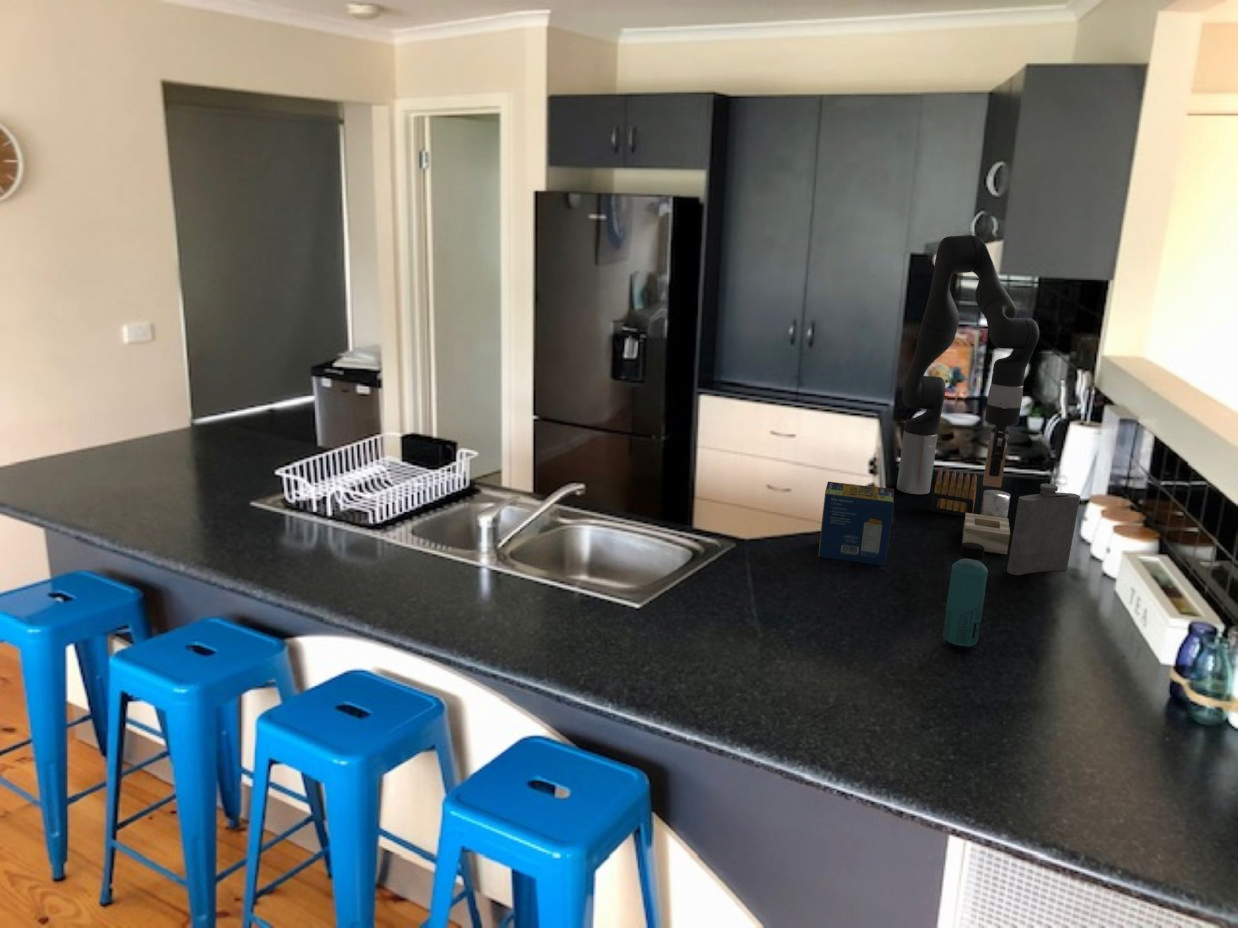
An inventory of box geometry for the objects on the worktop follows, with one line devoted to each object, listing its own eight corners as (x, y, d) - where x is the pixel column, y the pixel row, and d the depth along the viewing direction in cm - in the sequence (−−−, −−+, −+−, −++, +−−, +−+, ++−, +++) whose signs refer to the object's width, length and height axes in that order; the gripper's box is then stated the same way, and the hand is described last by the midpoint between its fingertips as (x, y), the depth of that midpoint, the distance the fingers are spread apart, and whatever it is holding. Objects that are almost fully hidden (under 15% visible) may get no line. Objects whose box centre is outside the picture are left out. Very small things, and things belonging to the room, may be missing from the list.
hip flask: (1013, 575, 213) (1027, 490, 207) (1001, 569, 216) (1014, 484, 211) (1070, 569, 218) (1085, 486, 213) (1057, 563, 222) (1071, 481, 216)
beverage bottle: (973, 657, 172) (989, 553, 167) (935, 647, 176) (950, 545, 170) (981, 644, 178) (996, 543, 172) (944, 635, 181) (959, 535, 176)
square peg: (983, 481, 232) (989, 441, 229) (1000, 483, 231) (1006, 443, 228) (983, 485, 228) (989, 444, 226) (1001, 487, 227) (1007, 446, 224)
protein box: (820, 542, 228) (827, 480, 224) (887, 551, 225) (895, 488, 220) (817, 557, 219) (824, 492, 215) (886, 566, 215) (894, 501, 211)
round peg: (978, 521, 249) (983, 488, 247) (1004, 525, 247) (1009, 491, 245) (978, 528, 244) (983, 495, 241) (1005, 532, 242) (1011, 498, 239)
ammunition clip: (973, 516, 253) (979, 473, 250) (972, 518, 252) (978, 474, 249) (931, 509, 258) (937, 466, 255) (930, 510, 257) (936, 468, 253)
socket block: (962, 531, 241) (965, 512, 240) (1005, 537, 238) (1008, 518, 236) (962, 547, 229) (965, 528, 228) (1006, 554, 226) (1010, 534, 225)
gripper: (986, 396, 232) (977, 465, 236) (987, 406, 219) (977, 478, 223) (1020, 400, 229) (1009, 468, 234) (1022, 410, 217) (1011, 483, 221)
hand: (993, 473), depth 229 cm, fingers closed on square peg, 4 cm apart
